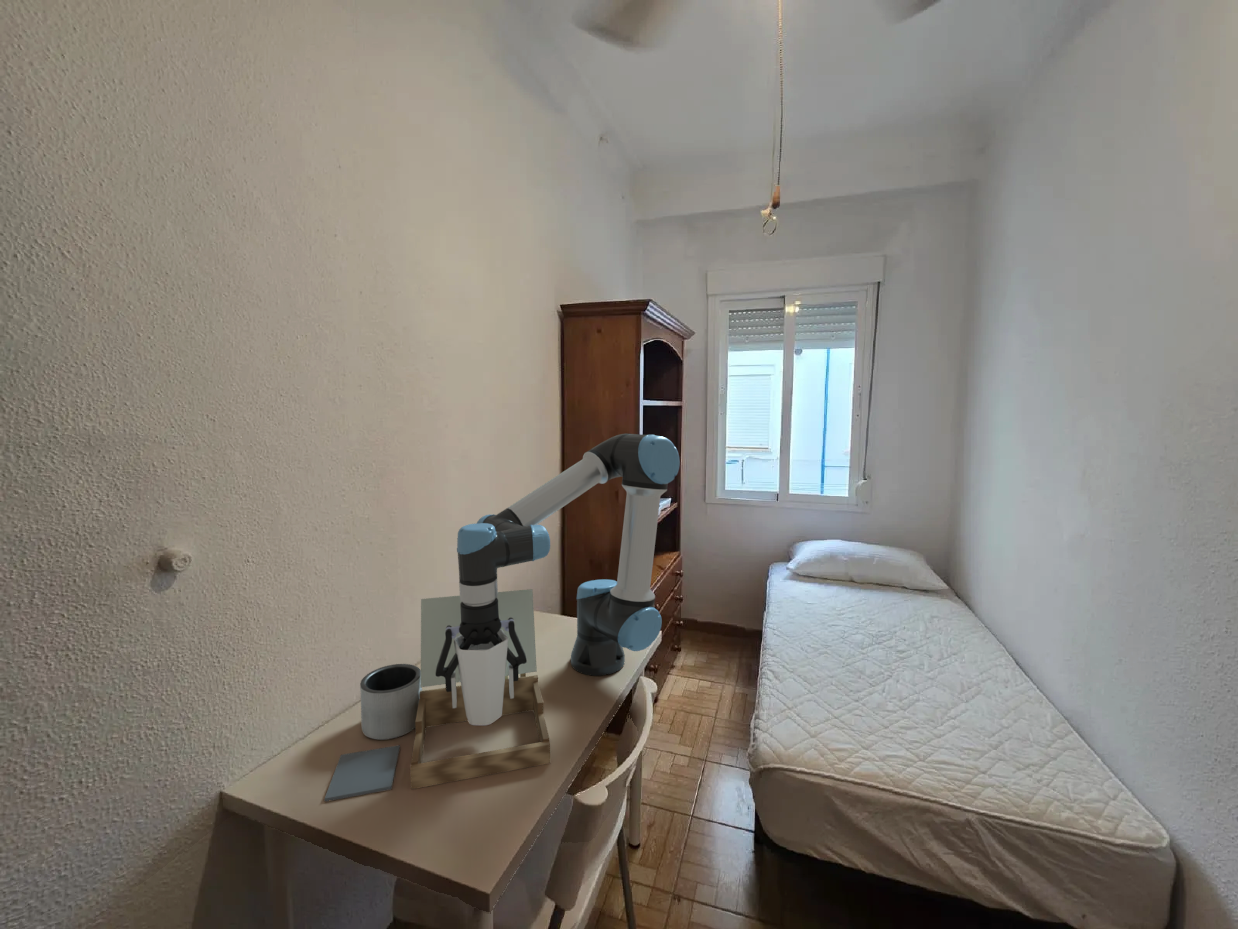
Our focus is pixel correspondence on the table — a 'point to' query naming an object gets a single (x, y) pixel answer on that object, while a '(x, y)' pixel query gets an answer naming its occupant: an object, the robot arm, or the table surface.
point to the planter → (390, 701)
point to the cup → (482, 679)
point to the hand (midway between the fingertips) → (483, 699)
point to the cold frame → (440, 711)
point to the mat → (363, 773)
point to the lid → (449, 613)
